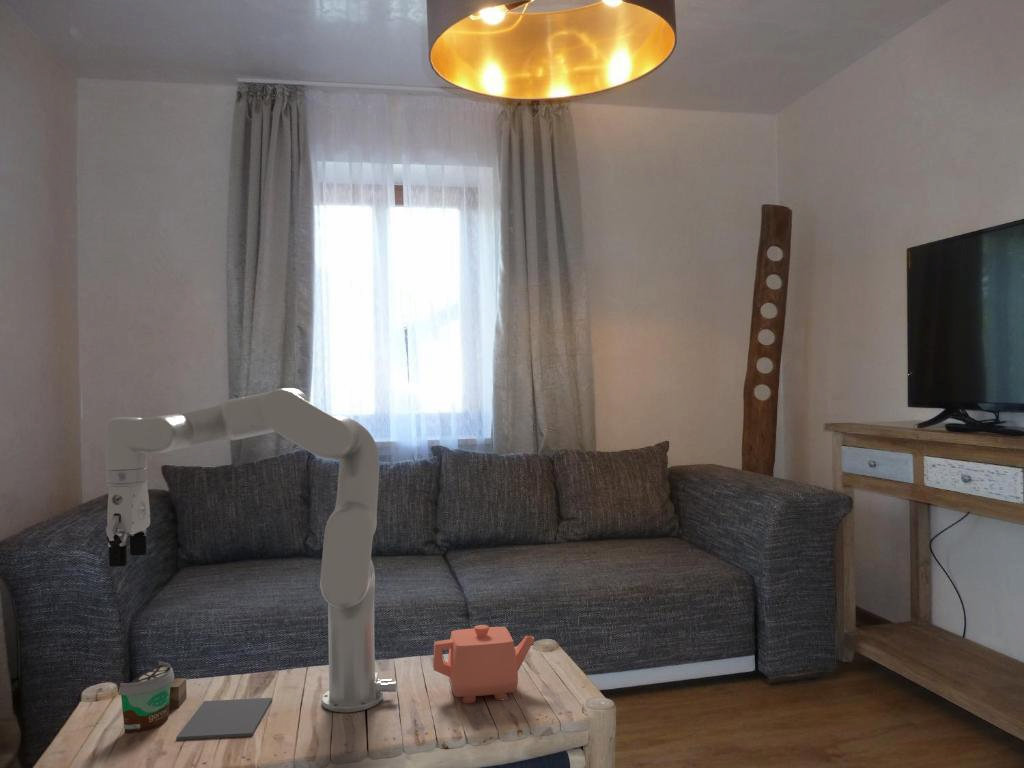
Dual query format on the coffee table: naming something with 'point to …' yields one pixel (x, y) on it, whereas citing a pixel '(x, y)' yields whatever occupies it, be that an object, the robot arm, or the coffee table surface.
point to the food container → (147, 699)
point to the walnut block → (177, 692)
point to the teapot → (481, 661)
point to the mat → (226, 719)
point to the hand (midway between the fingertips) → (128, 560)
